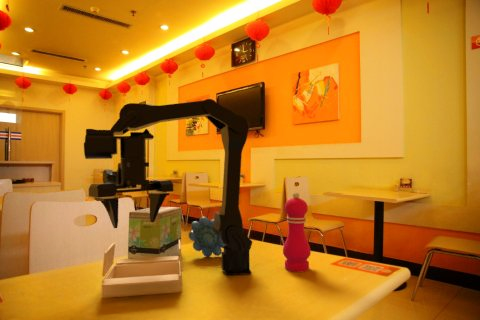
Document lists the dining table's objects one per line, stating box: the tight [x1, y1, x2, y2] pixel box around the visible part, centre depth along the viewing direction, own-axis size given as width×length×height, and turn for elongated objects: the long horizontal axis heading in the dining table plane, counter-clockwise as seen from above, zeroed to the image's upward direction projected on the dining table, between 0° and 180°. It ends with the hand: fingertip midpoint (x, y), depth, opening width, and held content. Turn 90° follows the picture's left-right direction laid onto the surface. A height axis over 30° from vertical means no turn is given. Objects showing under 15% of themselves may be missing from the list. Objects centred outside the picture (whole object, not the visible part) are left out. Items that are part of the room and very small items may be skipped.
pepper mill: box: [282, 191, 312, 273], centre depth 85 cm, size 7×7×20 cm
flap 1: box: [101, 242, 116, 277], centre depth 71 cm, size 5×10×1 cm
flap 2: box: [178, 240, 184, 272], centre depth 74 cm, size 5×10×1 cm
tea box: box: [127, 206, 182, 264], centre depth 94 cm, size 15×10×15 cm, turn 168°
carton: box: [101, 255, 183, 299], centre depth 72 cm, size 16×18×4 cm
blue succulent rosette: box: [188, 216, 227, 258], centre depth 95 cm, size 12×7×12 cm, turn 94°
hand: (134, 225), depth 75 cm, fingers open, 9 cm apart
